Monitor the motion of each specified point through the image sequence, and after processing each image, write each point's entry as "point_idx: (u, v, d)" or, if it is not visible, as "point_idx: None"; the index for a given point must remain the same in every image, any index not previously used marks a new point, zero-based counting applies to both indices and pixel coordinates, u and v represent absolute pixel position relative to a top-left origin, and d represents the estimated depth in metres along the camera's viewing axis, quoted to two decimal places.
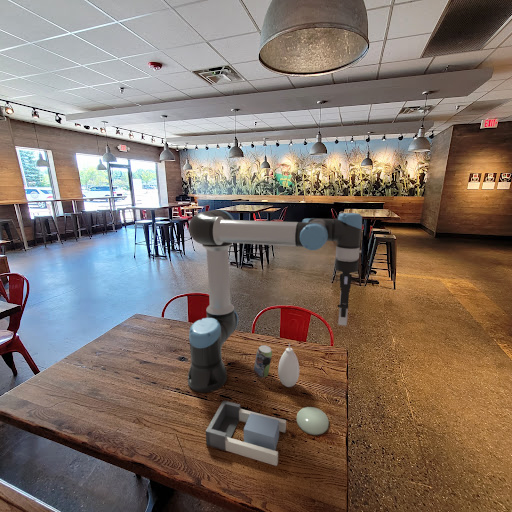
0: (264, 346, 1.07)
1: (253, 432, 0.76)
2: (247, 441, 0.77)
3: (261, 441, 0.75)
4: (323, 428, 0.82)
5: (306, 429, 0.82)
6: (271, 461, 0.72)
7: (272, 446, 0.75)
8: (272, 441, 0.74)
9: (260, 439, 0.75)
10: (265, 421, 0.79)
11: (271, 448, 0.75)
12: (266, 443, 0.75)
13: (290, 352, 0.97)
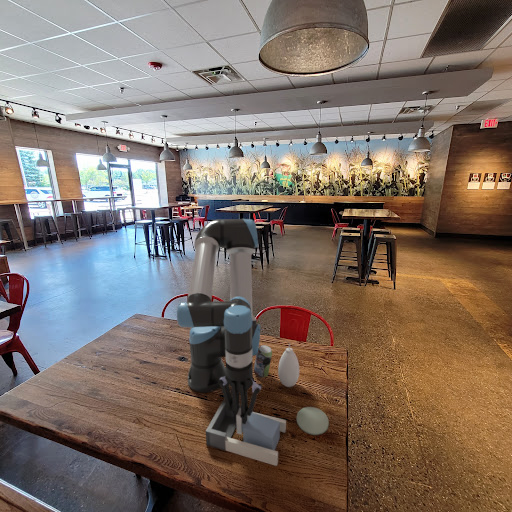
0: (264, 346, 1.07)
1: (252, 431, 0.76)
2: (246, 440, 0.77)
3: (260, 441, 0.75)
4: (323, 428, 0.82)
5: (306, 429, 0.82)
6: (271, 461, 0.72)
7: (270, 447, 0.74)
8: (270, 442, 0.74)
9: (259, 439, 0.75)
10: (265, 422, 0.79)
11: None
12: (265, 444, 0.75)
13: (290, 352, 0.97)
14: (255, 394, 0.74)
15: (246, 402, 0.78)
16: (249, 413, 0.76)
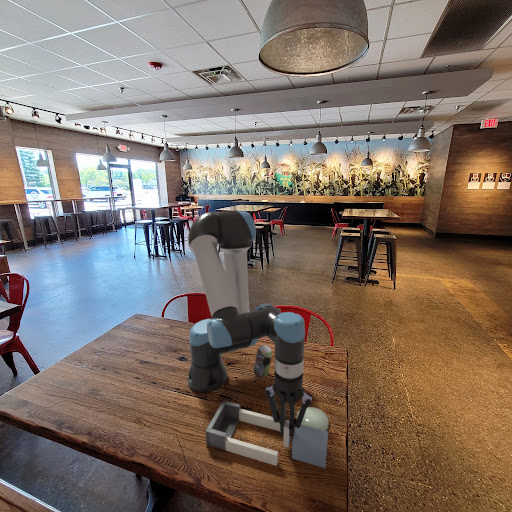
0: (264, 346, 1.07)
1: (303, 444, 0.72)
2: (296, 454, 0.73)
3: (311, 454, 0.72)
4: (323, 428, 0.82)
5: None
6: (271, 461, 0.72)
7: (324, 460, 0.71)
8: (324, 454, 0.70)
9: (310, 452, 0.72)
10: (313, 433, 0.75)
11: (322, 462, 0.71)
12: (317, 456, 0.71)
13: None
14: (306, 406, 0.70)
15: (294, 414, 0.74)
16: (298, 425, 0.72)
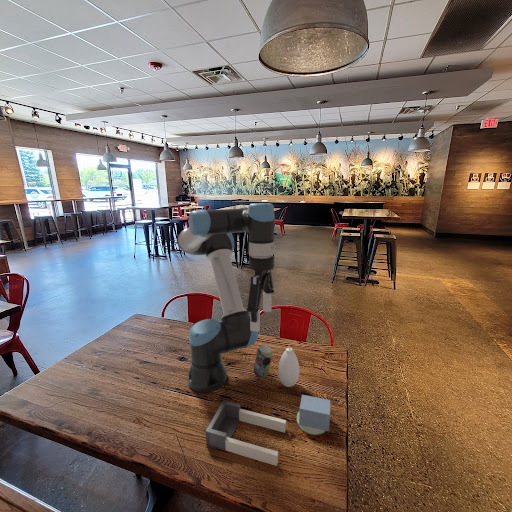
0: (264, 346, 1.07)
1: (309, 411, 0.82)
2: (302, 420, 0.83)
3: (317, 418, 0.81)
4: None
5: (306, 429, 0.82)
6: (271, 461, 0.72)
7: (327, 423, 0.81)
8: (327, 418, 0.80)
9: (315, 417, 0.81)
10: (318, 401, 0.85)
11: (326, 425, 0.81)
12: (322, 421, 0.81)
13: (290, 352, 0.97)
14: (270, 271, 0.88)
15: None
16: (272, 286, 0.92)
